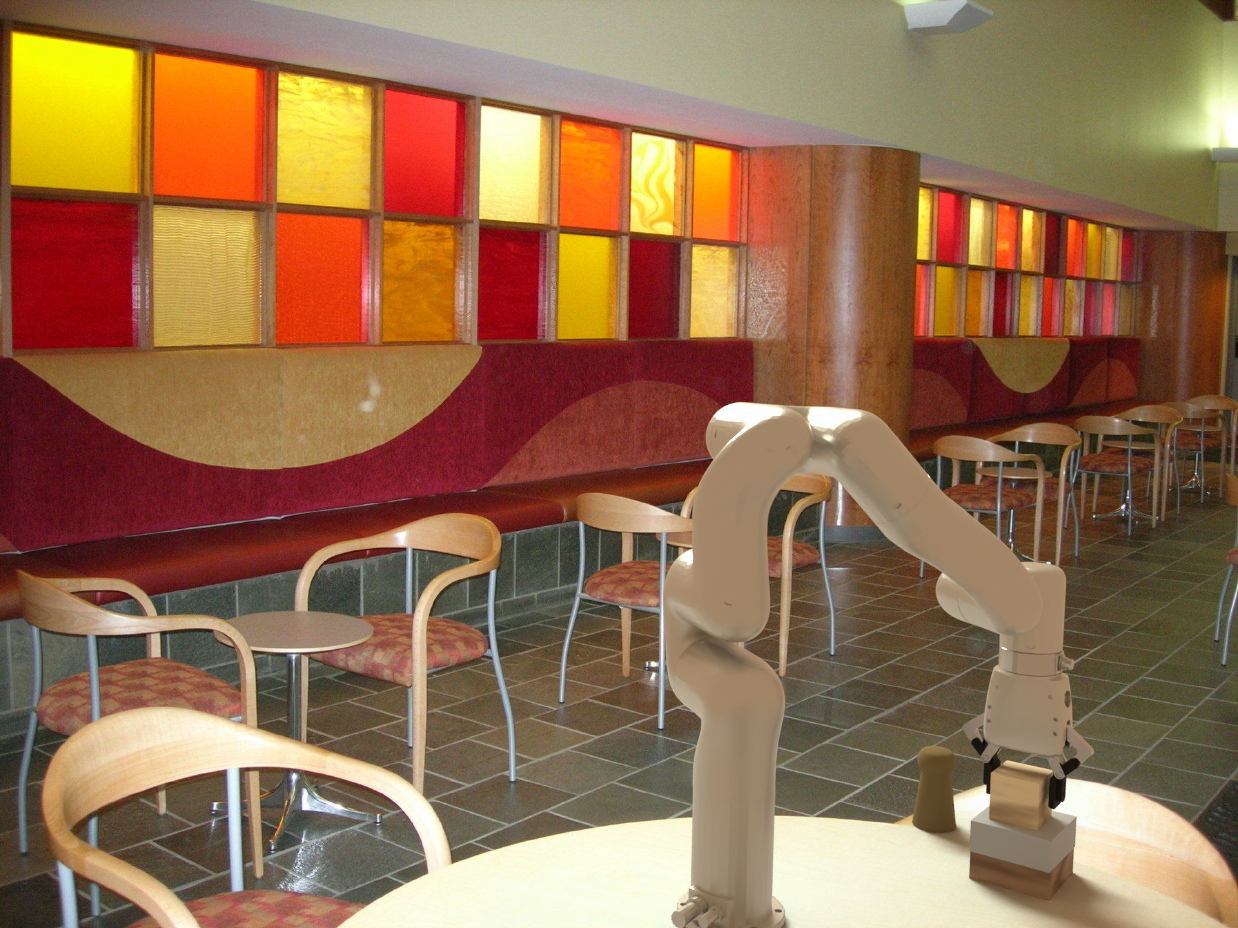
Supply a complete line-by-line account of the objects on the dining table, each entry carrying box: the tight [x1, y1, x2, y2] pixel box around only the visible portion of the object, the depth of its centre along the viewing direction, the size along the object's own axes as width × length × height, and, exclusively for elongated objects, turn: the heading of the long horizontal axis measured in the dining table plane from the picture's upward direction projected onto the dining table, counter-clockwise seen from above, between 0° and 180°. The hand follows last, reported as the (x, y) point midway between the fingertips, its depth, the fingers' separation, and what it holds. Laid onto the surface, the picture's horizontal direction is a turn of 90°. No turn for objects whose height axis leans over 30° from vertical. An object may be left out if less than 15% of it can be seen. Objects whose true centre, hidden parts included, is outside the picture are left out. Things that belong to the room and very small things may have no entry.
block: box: [989, 760, 1053, 831], centre depth 151 cm, size 6×6×6 cm
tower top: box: [968, 805, 1077, 873], centre depth 151 cm, size 10×10×4 cm
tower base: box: [968, 847, 1075, 901], centre depth 152 cm, size 10×10×4 cm
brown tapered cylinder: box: [911, 745, 957, 834], centre depth 168 cm, size 6×6×11 cm
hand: (1023, 797), depth 151 cm, fingers open, 7 cm apart
